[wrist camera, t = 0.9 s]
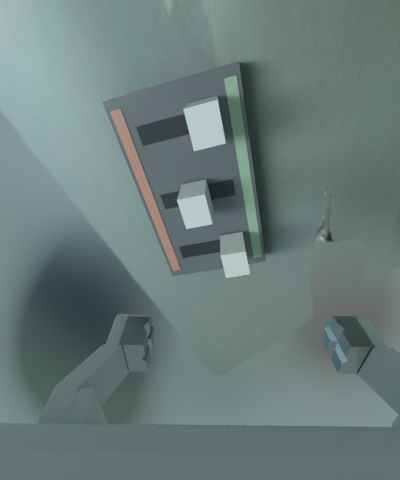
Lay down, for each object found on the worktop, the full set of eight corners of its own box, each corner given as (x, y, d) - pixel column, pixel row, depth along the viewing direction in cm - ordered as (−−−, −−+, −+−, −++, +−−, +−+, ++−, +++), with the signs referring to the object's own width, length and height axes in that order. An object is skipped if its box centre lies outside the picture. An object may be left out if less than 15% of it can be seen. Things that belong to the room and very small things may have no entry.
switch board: (237, 62, 25) (238, 61, 23) (263, 250, 38) (265, 261, 36) (110, 99, 28) (102, 102, 26) (174, 265, 40) (172, 276, 38)
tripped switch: (206, 179, 29) (204, 194, 26) (212, 206, 31) (212, 224, 28) (181, 184, 30) (176, 200, 26) (189, 211, 32) (186, 229, 28)
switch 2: (242, 231, 33) (245, 251, 29) (246, 253, 35) (249, 274, 31) (219, 235, 34) (220, 255, 30) (224, 256, 36) (226, 277, 32)
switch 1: (217, 95, 25) (217, 99, 21) (224, 133, 27) (225, 143, 23) (187, 103, 25) (183, 109, 22) (196, 140, 27) (193, 151, 23)
